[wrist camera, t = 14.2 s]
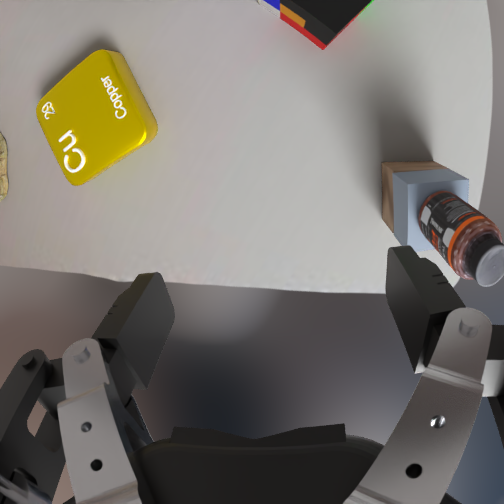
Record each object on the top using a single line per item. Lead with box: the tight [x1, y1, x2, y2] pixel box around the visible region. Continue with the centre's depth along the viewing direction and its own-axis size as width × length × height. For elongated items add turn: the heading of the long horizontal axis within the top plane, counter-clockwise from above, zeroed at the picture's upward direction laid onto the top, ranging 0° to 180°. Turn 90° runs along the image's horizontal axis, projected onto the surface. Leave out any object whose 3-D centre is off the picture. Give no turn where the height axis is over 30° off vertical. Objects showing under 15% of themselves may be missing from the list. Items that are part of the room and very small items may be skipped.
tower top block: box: [392, 169, 469, 252], centre depth 32 cm, size 8×8×5 cm
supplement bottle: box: [418, 191, 504, 287], centre depth 24 cm, size 6×6×11 cm
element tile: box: [36, 49, 158, 186], centre depth 35 cm, size 15×15×5 cm
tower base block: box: [382, 161, 448, 233], centre depth 36 cm, size 8×8×5 cm
